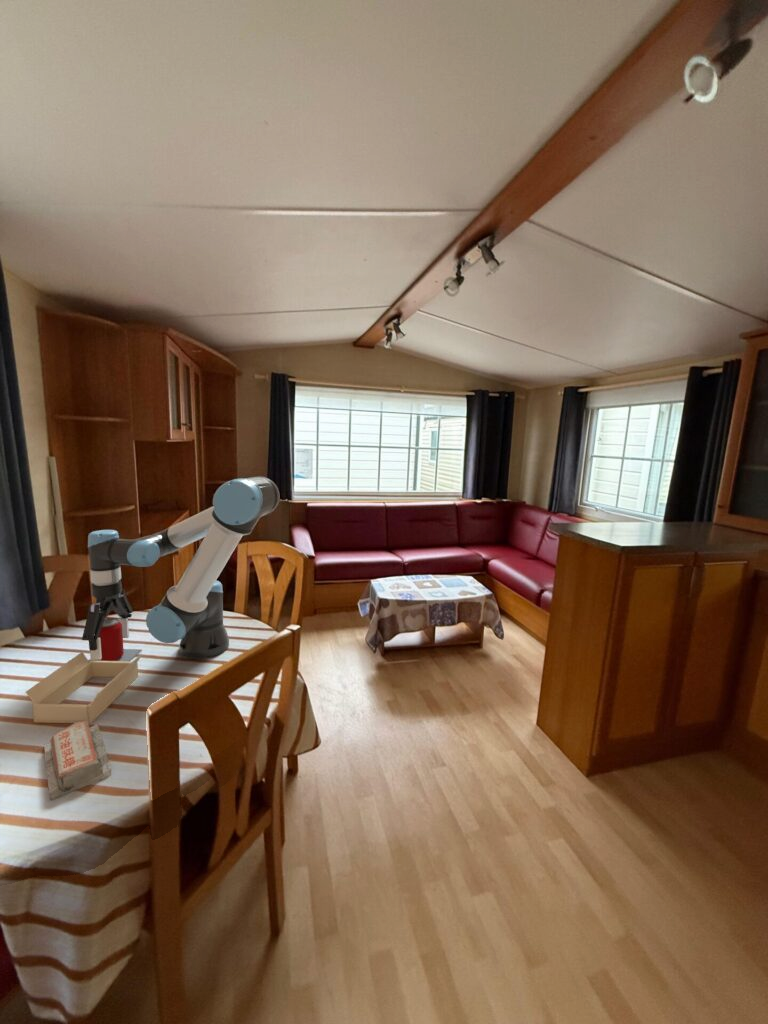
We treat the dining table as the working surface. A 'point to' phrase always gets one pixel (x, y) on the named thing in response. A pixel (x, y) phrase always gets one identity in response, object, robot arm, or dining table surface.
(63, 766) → the packaged product
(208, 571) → the robot arm
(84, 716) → the carton
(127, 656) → the coaster
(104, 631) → the beverage can
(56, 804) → the dining table surface
